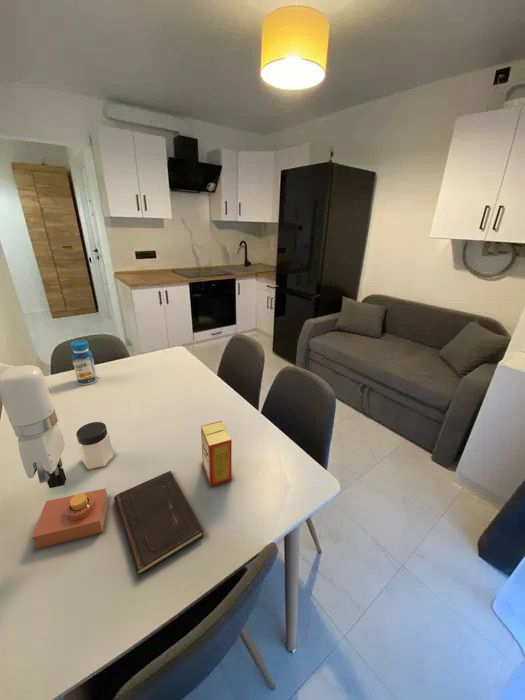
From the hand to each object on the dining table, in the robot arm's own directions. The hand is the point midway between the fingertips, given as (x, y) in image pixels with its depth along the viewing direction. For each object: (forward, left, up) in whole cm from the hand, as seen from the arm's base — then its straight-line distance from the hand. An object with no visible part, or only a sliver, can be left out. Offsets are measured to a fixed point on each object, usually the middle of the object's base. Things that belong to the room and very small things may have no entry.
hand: (58, 484), depth 69 cm
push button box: (+1, 0, -14) cm, 14 cm away
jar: (+3, +22, -14) cm, 26 cm away
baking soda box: (+39, +6, -14) cm, 42 cm away
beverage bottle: (-10, +78, -14) cm, 80 cm away
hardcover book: (+21, -5, -14) cm, 26 cm away
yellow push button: (+3, 0, -8) cm, 9 cm away
